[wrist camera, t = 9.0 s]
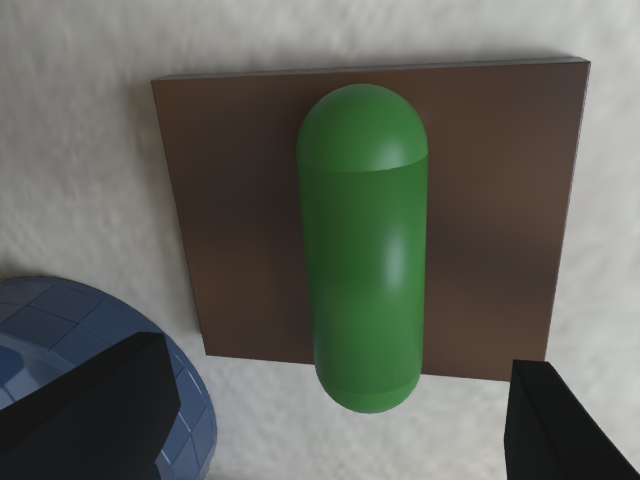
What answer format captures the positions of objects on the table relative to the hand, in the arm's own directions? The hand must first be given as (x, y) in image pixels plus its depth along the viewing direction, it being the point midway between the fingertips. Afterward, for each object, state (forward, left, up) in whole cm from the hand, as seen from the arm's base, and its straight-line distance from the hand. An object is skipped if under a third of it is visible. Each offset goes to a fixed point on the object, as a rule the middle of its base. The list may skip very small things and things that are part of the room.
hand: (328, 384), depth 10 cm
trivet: (0, 0, -8) cm, 9 cm away
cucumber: (0, 0, -7) cm, 7 cm away
